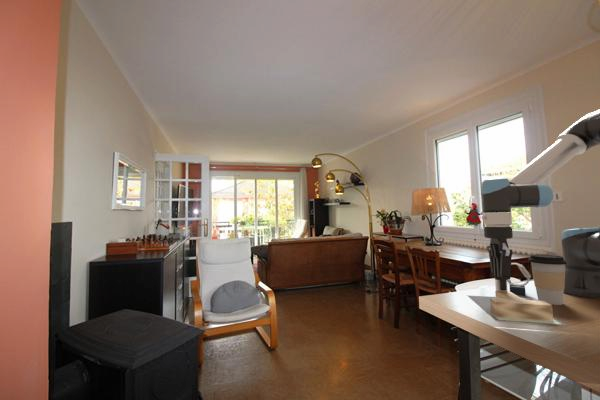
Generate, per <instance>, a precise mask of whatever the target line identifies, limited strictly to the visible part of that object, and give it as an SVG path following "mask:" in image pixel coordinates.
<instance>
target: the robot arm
mask: <svg viewBox="0 0 600 400" xmlns="http://www.w3.org/2000/svg"><path fill="white" fill-rule="evenodd" d="M597 146H600V109H597V110H594V111H593V112H589V113H587V114H585V115H584V116H583V117H581V118H580V119H578V120H577V121H575V122H574V123H572V125H570V126H569V127H568V128H567V129H565V130H564V131H563V132H562V133H560V134H559V135H558V136H557V137H556V139H555V142H554V143H553V144H551V145H550V146H549V147H548V148H546V150H544V151H543V152H541V153H540V154H539V155H538V156H536V157H535V158H534V159H533V160H532V161H530V162H529V163H528V164H527V165H525V166H524V167H523V168H522V169H520V170H519V171H518V172H517V173H515V175H513V176H512V177H510V178H505V177H499V178H488V179H485V180H483V181H482V182H481V193H480V194H481V199H482V200H481V201H482V216H481V219H482V220H483V225H484V227H483V234H484V235H483V236H484V238H485V239H490V243H489V245H487V246H486V248H487V252H488V257H489V263H490V270H491V271H490V272H491V275H493V277H494V281H495V282H494V283H495V291H508V282H507V280H508V279H509V280H511V271H512V265H511V263H512V256H513V253H514V251H513V249H510V248H509V243H508V239H513V237H514V236H513V234H514V233H513V227H512V225H513V215H512V209H518V208H519V209H520V208H543V207H548V206H550V205H551V204H552V202H553V201H554V191H553V189H552V188H551V187H550V185H547V184H545V183H542V182H544V181H545V180H546V179H547V178H549V177H550V176H551V175H552V174H554V173H555V172H556V171H557V170H558V169H560V168H561V167H563V165H565V164H566V163H567V162H569V161H570V160H571V159H572V158H574V157H576V156H579V155H582V154H584V153H585V152H586V151H588V150H590V149H591V148H594V147H597ZM560 242H561V249H562V257H563V259H564V260H565V261H566V263H567V264H565V287H564V294H565V293H566V294H569V295H573V296H577V297H583V298H584V297H585V298H588V299H589V298H591V299H598V298H600V225H599V226H598V227H583V228H582V227H581V228H569V229H565V230H564V229H563V231H562V232H561V240H560Z"/></svg>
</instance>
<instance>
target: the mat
mask: <svg viewBox="0 0 600 400" xmlns="http://www.w3.org/2000/svg"><path fill="white" fill-rule="evenodd" d="M467 297H468V298H469V299H471V301H473V302H474V303H475V304H476V305H477V306H478V307H480V308H481V309H482V311H484V312H486V313H487V315H489V316H490V317H491V318H492V319H494V320H495V321H499V322H512V323H513V322H514V323H527V324H528V323H529V324H540V325H554V326H555V325H556V326H569V325H568V324H567V323H565V322H563V321H562V320H560V319H558V318H556V317H554V316H553V321H549V320H535V319H521V318H507V317H496V316H495V315H494V314H493V313H492V312H491V303H490V298H496V296H485V295H467Z"/></svg>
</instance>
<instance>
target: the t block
mask: <svg viewBox="0 0 600 400" xmlns="http://www.w3.org/2000/svg"><path fill="white" fill-rule="evenodd" d="M495 297H496V298H490V303H491V312H492V313H493V314H494V315H495V316H496V317H507V318H521V319H535V320H549V321H553V317H554V313H553V310H554V309H553V304H549V303H547V302H545V301H538V300H534V299H533V300H532V299H524V298H522V297H521V296H519V295H515V294H513V293H512V292H510V290H507V291H496V290H495Z"/></svg>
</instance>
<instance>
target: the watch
mask: <svg viewBox="0 0 600 400" xmlns="http://www.w3.org/2000/svg"><path fill="white" fill-rule="evenodd" d="M513 265H515V266H517V268H518V269H519V270H520V272H521V273H522V275H523V276H524V277H525V278H526V279H527V280H526V281H525V282H524V283H514V282H512V280H511V279H508V280H507V284H509V292H512V293H513V294H515V295H517V296H519V297H526V285H528V284H529V282H530V281H531V279H530V278H532V276H531V273H530V272H529V271H528V270H527V269H526V267H525V266H524V265H523V264H522V263H521V264H520V263H518V262H511V266H513Z"/></svg>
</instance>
